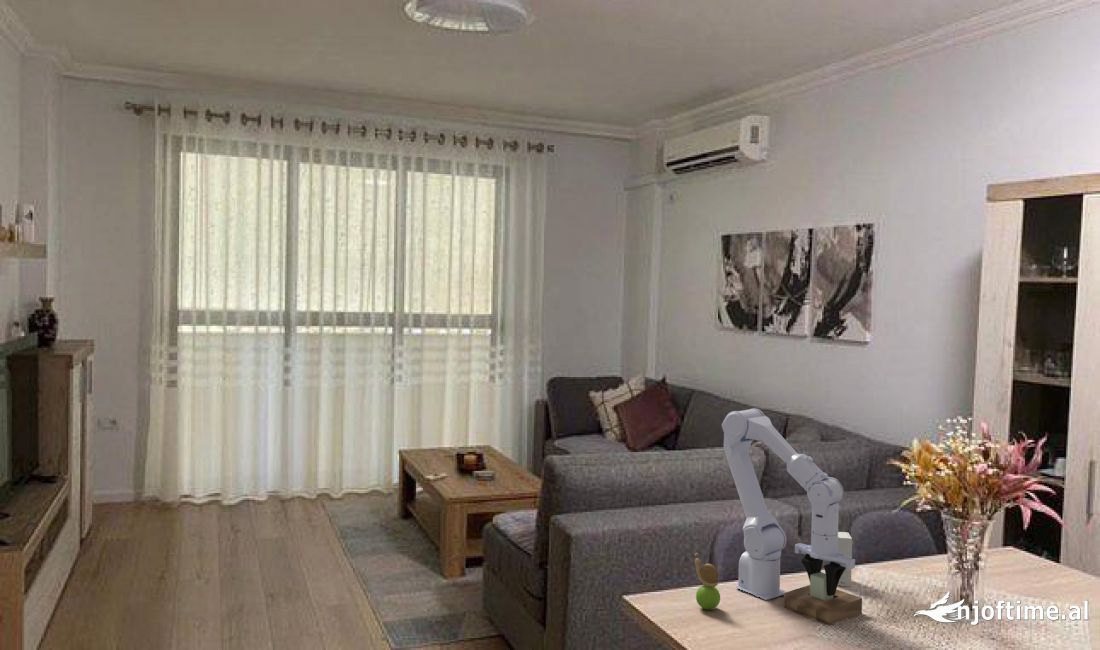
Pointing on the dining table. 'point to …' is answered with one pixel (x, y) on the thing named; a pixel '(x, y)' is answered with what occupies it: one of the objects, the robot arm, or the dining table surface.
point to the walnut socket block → (823, 605)
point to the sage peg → (819, 586)
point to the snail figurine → (707, 585)
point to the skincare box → (846, 550)
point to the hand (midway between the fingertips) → (823, 591)
